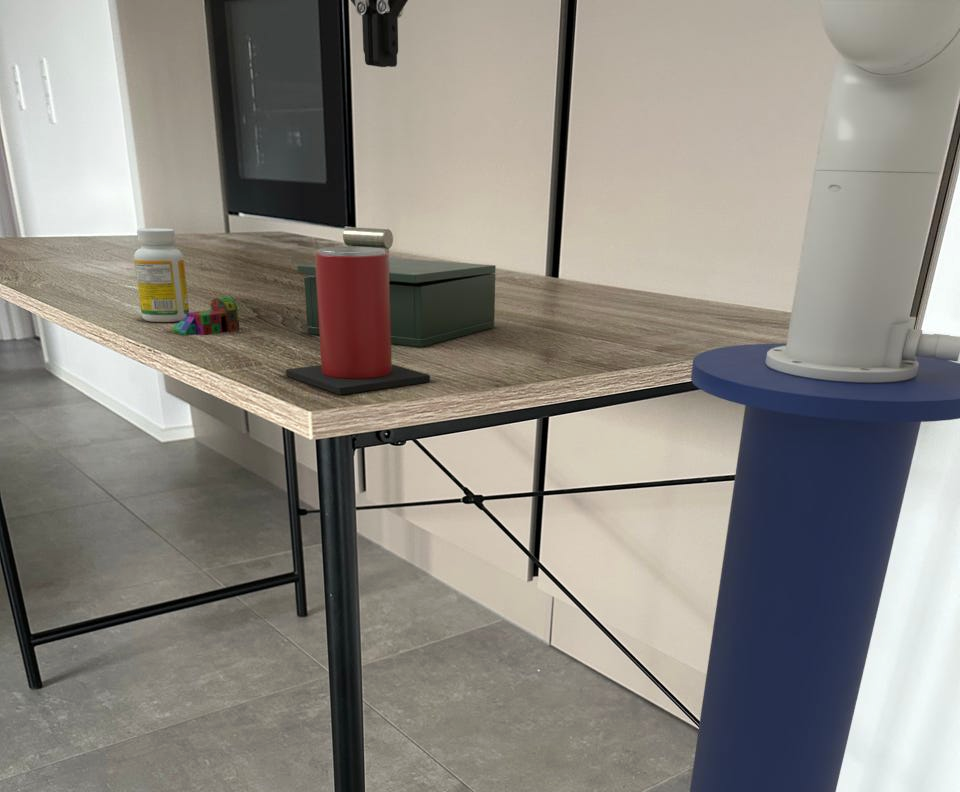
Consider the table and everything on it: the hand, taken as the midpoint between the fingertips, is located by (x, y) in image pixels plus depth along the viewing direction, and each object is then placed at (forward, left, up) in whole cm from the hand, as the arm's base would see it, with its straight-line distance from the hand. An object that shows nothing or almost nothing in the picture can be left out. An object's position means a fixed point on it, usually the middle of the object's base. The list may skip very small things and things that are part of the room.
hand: (381, 65), depth 91 cm
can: (-11, +21, -24) cm, 34 cm away
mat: (-11, +21, -25) cm, 35 cm away
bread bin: (0, -3, -25) cm, 25 cm away
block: (+18, +10, -25) cm, 32 cm away
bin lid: (0, -3, -19) cm, 19 cm away
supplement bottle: (+27, +6, -25) cm, 37 cm away
